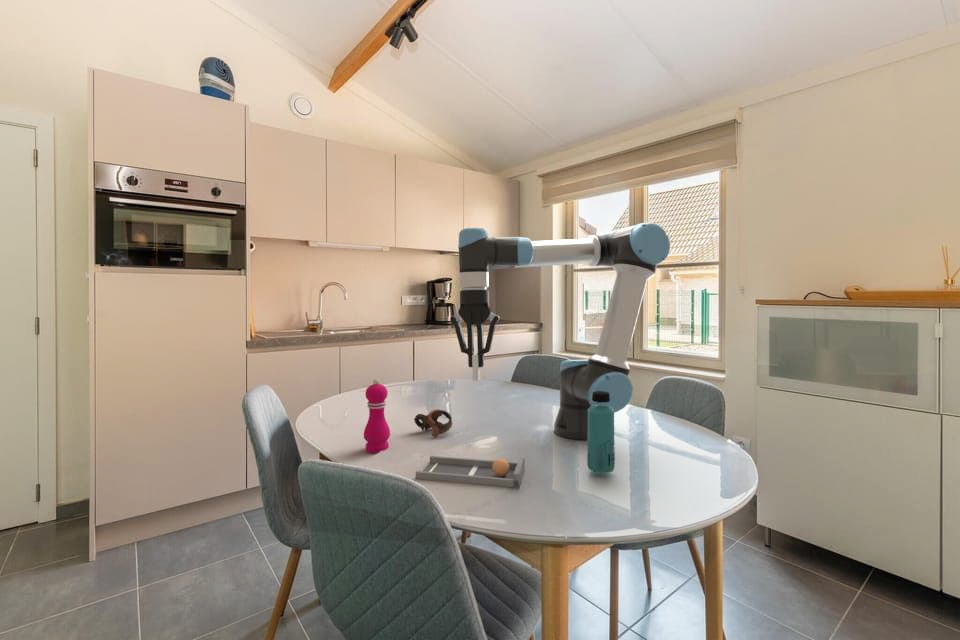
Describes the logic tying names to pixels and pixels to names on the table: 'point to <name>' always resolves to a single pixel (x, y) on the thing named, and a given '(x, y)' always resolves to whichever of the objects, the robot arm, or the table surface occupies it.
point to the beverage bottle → (600, 435)
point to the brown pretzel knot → (434, 422)
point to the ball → (500, 467)
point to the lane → (471, 471)
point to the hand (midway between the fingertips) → (476, 379)
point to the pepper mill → (376, 419)
